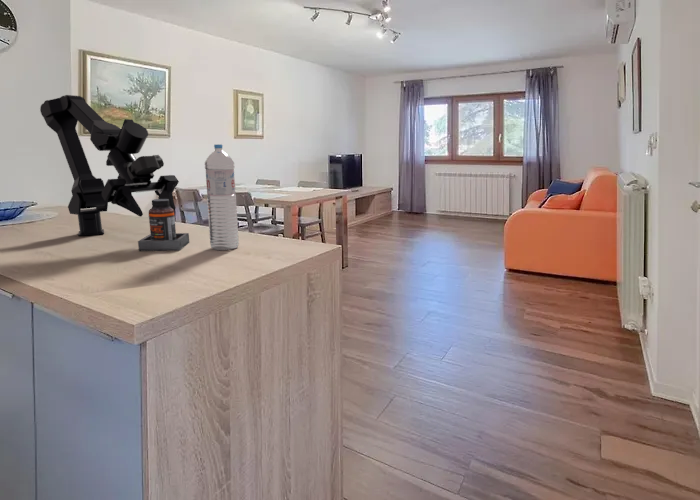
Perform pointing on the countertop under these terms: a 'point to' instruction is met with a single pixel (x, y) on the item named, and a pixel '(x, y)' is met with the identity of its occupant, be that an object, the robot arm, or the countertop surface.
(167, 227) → the supplement bottle
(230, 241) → the water bottle
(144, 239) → the tray
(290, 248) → the countertop surface
